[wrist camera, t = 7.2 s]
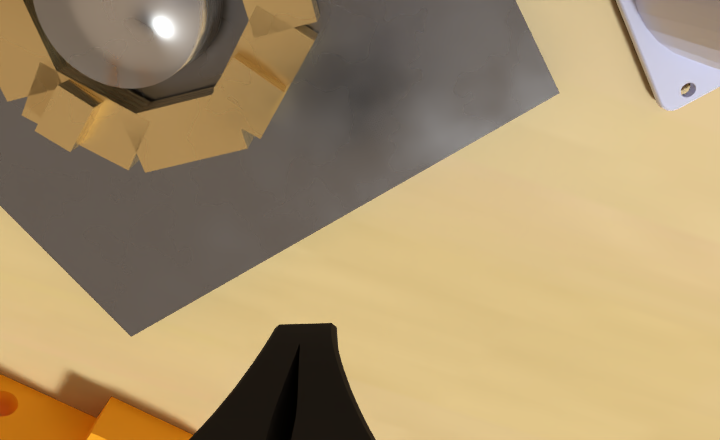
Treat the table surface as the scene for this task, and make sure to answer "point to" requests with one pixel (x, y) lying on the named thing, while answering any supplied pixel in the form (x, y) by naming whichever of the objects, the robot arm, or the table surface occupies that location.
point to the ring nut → (162, 117)
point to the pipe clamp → (74, 419)
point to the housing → (264, 156)
